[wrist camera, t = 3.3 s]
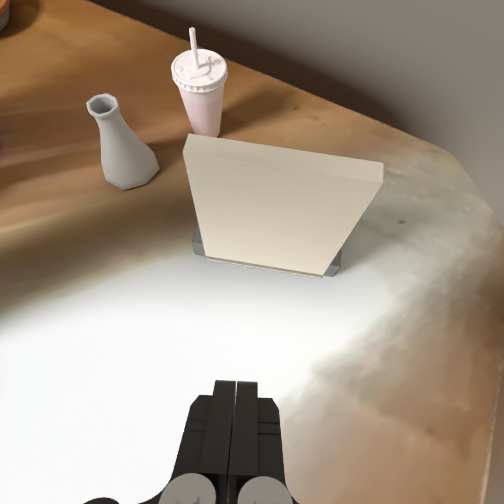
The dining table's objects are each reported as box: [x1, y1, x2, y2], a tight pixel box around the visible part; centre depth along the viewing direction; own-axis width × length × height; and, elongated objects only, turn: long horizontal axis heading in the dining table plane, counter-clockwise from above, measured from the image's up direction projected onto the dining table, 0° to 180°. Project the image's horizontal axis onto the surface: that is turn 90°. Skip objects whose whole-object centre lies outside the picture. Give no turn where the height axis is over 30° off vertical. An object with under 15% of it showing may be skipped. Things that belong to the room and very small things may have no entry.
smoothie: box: [171, 28, 227, 138], centre depth 40 cm, size 6×6×14 cm
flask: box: [86, 93, 160, 190], centre depth 38 cm, size 7×7×10 cm
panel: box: [183, 134, 383, 278], centre depth 27 cm, size 12×2×16 cm, turn 81°
